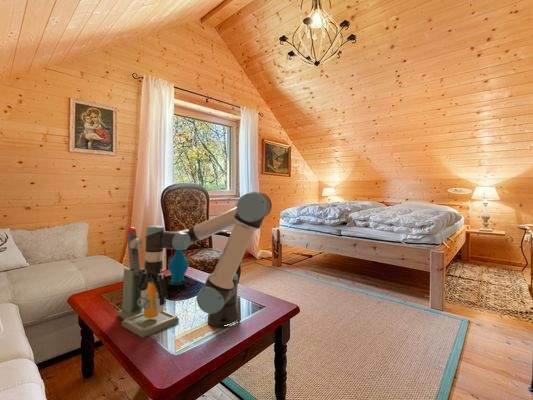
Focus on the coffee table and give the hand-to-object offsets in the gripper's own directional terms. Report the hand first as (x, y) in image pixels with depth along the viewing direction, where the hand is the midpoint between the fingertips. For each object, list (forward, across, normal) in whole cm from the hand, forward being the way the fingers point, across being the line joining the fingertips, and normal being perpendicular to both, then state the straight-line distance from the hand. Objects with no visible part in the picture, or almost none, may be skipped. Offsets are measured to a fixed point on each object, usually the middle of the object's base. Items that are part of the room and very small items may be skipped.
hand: (151, 308), depth 126 cm
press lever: (-24, +13, 0) cm, 27 cm away
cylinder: (+4, 0, 0) cm, 4 cm away
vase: (+7, +38, -44) cm, 59 cm away
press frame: (+7, +6, 0) cm, 9 cm away
